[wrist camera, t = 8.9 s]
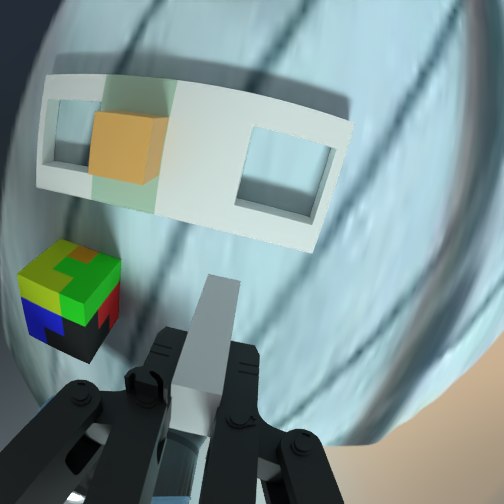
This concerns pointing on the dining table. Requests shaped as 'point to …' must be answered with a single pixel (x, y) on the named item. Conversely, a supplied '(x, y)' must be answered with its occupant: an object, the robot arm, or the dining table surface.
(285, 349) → the dining table surface
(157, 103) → the plate
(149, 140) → the orange block
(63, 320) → the puzzle toy
